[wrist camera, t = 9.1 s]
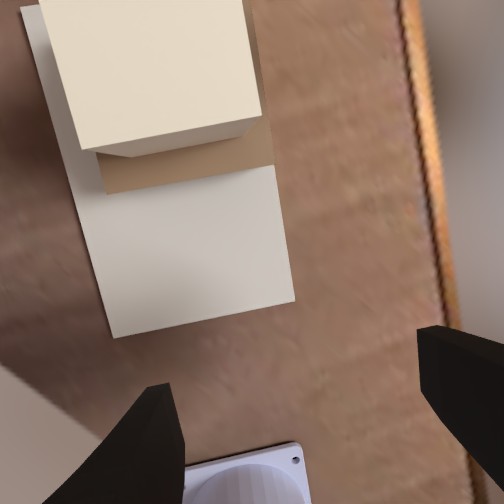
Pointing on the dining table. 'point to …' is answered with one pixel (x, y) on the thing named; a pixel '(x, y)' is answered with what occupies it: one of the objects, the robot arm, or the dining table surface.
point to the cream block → (153, 72)
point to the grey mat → (169, 230)
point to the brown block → (197, 148)
